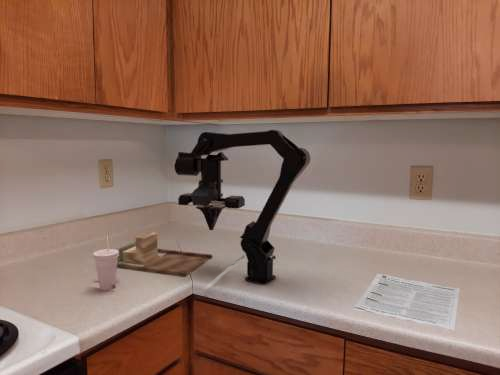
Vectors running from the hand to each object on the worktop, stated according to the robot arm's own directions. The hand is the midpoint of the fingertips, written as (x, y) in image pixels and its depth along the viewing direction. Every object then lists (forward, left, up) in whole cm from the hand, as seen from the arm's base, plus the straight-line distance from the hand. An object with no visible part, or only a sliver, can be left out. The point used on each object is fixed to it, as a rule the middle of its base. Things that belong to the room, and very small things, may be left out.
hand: (211, 229), depth 106 cm
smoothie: (+15, +24, -13) cm, 32 cm away
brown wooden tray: (+16, +4, -13) cm, 21 cm away
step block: (+24, +6, -12) cm, 27 cm away
